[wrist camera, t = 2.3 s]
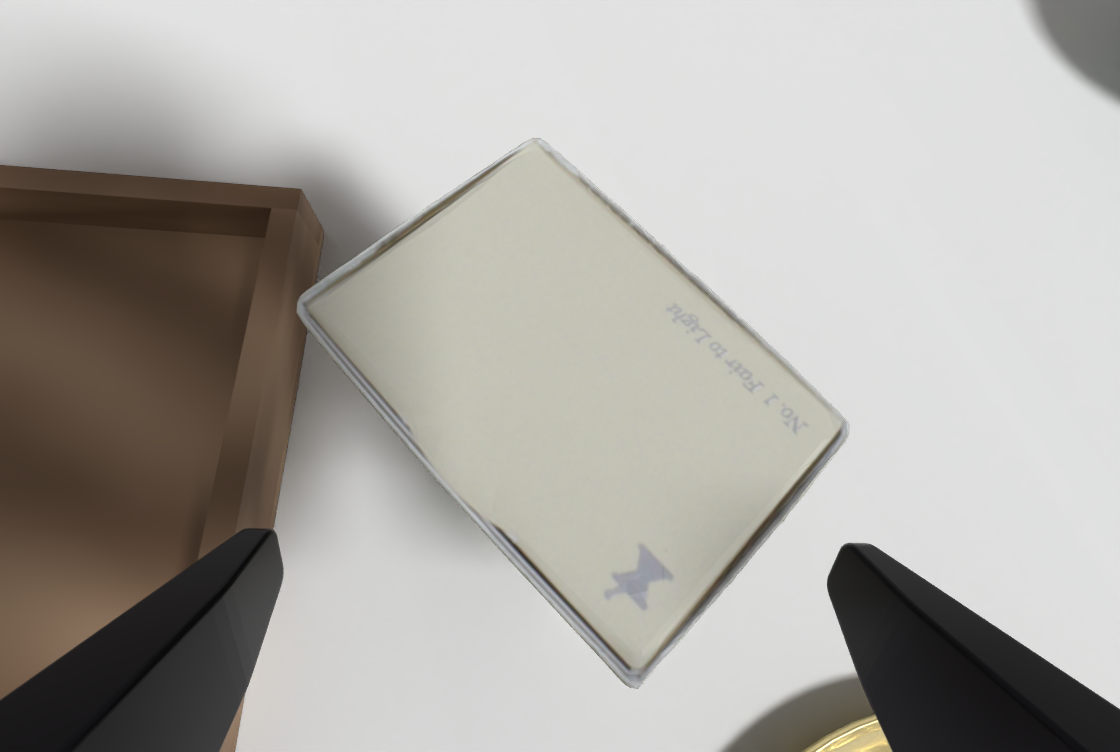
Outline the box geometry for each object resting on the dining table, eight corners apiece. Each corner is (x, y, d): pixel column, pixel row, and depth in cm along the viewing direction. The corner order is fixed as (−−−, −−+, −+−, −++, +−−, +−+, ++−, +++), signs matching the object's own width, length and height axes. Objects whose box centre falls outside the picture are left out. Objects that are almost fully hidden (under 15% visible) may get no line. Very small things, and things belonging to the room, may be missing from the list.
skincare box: (641, 505, 18) (884, 435, 7) (546, 604, 17) (647, 720, 6) (517, 374, 19) (545, 115, 8) (418, 458, 18) (277, 298, 7)
